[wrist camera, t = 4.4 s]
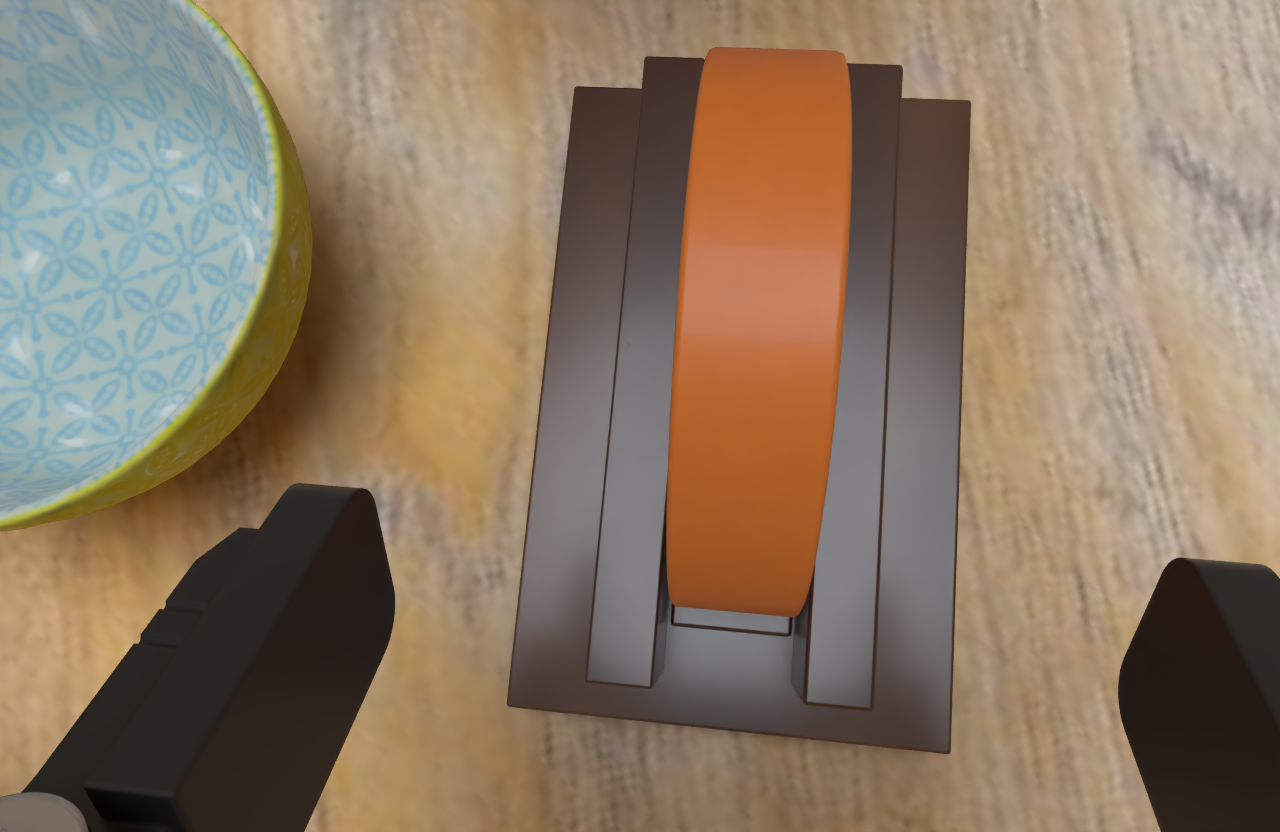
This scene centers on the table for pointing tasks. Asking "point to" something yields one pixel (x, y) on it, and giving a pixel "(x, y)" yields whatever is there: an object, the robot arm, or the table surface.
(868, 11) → the table surface
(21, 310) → the bowl
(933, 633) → the rack
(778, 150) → the disc
